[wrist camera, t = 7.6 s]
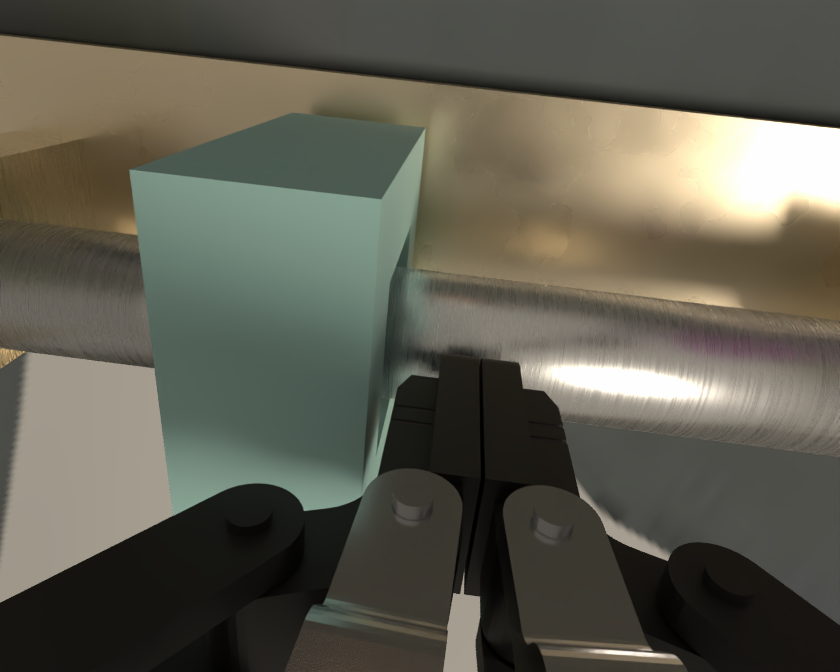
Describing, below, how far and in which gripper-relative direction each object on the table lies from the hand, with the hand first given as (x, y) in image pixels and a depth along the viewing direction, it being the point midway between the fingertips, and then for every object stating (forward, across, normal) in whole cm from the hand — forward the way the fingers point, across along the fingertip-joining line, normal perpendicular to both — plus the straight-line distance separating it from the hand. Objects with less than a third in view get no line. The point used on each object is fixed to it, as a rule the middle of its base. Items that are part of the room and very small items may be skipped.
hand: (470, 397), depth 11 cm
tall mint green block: (+6, +3, 0) cm, 7 cm away
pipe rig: (+8, 0, 0) cm, 8 cm away
